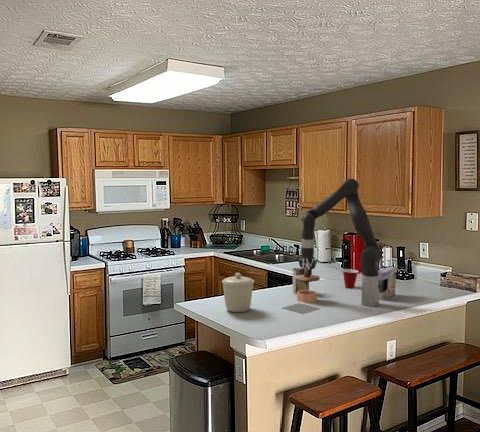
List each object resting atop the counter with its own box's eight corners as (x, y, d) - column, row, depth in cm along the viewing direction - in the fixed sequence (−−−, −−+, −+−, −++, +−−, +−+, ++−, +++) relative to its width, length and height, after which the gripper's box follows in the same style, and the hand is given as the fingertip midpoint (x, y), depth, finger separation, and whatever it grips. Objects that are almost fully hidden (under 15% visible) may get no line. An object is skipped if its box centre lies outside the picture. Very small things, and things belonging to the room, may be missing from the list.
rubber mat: (321, 309, 278) (321, 308, 278) (302, 314, 267) (302, 313, 267) (299, 303, 290) (299, 303, 290) (280, 308, 279) (280, 308, 279)
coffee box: (305, 292, 319) (306, 267, 318) (309, 294, 313) (309, 269, 312) (292, 292, 317) (292, 268, 316) (295, 295, 311) (295, 269, 310)
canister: (234, 316, 263) (234, 277, 262) (215, 309, 278) (215, 272, 276) (260, 311, 274) (261, 273, 272) (241, 304, 288) (241, 268, 287)
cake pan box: (381, 300, 298) (382, 271, 297) (373, 299, 302) (374, 270, 300) (396, 295, 312) (396, 267, 311) (388, 294, 316) (389, 266, 314)
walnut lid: (324, 278, 296) (325, 267, 296) (308, 282, 286) (309, 270, 285) (305, 275, 307) (305, 264, 307) (289, 278, 297) (289, 266, 296)
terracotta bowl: (320, 300, 297) (320, 292, 297) (307, 304, 290) (308, 295, 289) (305, 297, 306) (305, 289, 305) (293, 300, 298) (293, 292, 297)
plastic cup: (358, 289, 327) (359, 271, 326) (341, 289, 329) (342, 271, 328) (358, 286, 337) (358, 268, 336) (341, 285, 339) (342, 268, 338)
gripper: (320, 247, 292) (320, 276, 294) (302, 244, 303) (302, 272, 304) (312, 248, 287) (312, 277, 289) (294, 245, 298) (294, 274, 299)
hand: (307, 275), depth 296 cm, fingers closed on walnut lid, 3 cm apart
